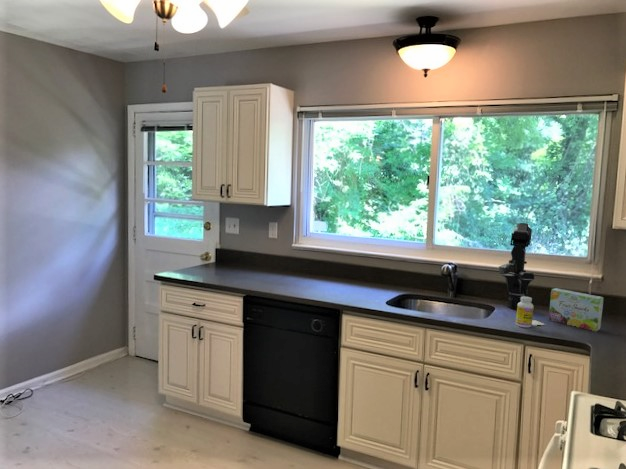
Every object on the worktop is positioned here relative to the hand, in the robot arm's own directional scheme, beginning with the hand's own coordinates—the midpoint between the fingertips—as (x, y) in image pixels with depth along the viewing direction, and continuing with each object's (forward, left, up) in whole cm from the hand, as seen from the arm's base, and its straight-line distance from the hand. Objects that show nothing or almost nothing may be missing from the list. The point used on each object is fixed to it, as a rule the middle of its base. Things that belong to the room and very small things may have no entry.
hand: (515, 292), depth 250 cm
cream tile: (-5, +8, -13) cm, 16 cm away
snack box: (-23, +13, -13) cm, 29 cm away
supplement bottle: (+2, +10, -13) cm, 17 cm away
